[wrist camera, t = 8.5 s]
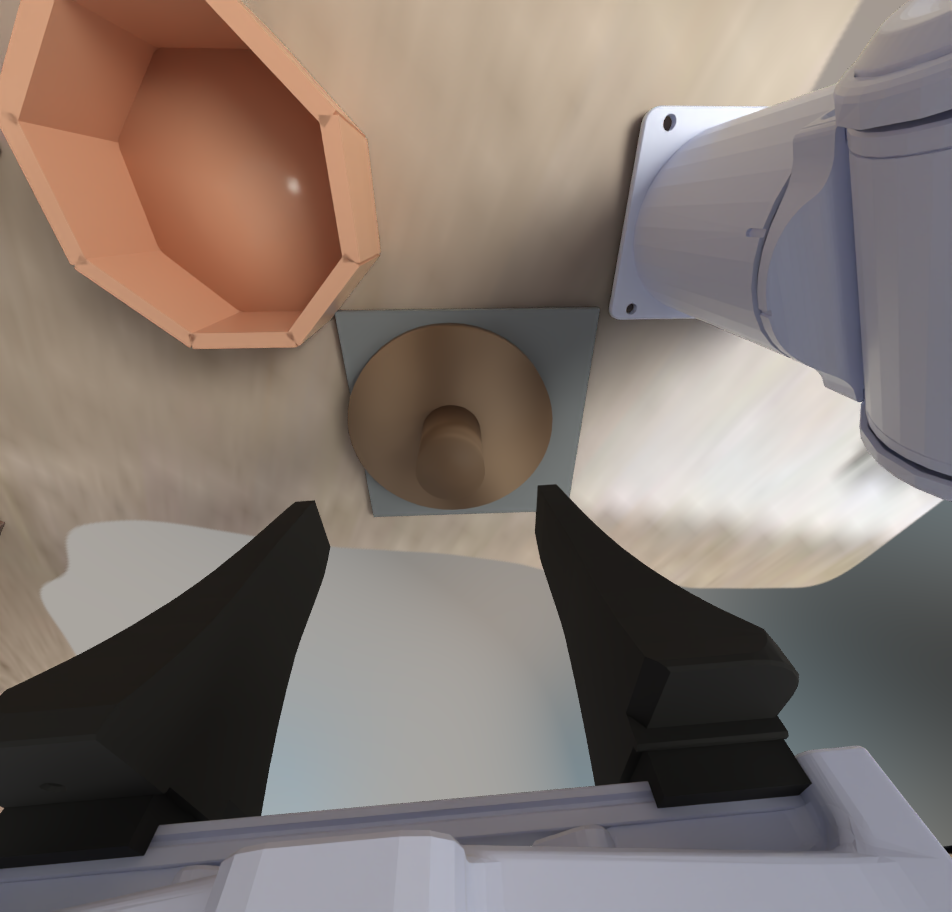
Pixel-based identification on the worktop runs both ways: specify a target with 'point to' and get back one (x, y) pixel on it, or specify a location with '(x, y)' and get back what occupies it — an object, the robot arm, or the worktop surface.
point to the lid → (450, 416)
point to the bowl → (190, 166)
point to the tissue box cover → (1, 526)
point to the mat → (544, 343)
